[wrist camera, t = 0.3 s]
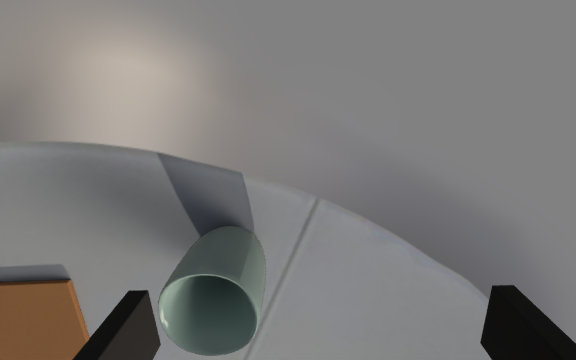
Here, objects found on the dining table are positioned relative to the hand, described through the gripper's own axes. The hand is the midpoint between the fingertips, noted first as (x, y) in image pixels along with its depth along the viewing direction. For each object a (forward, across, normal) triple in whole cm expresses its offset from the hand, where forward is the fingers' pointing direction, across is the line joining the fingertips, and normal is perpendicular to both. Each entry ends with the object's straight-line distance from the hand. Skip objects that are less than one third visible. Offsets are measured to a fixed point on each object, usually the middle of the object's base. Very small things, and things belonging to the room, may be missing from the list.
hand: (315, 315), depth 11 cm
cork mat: (+17, -36, -20) cm, 45 cm away
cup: (+18, -8, -8) cm, 21 cm away
